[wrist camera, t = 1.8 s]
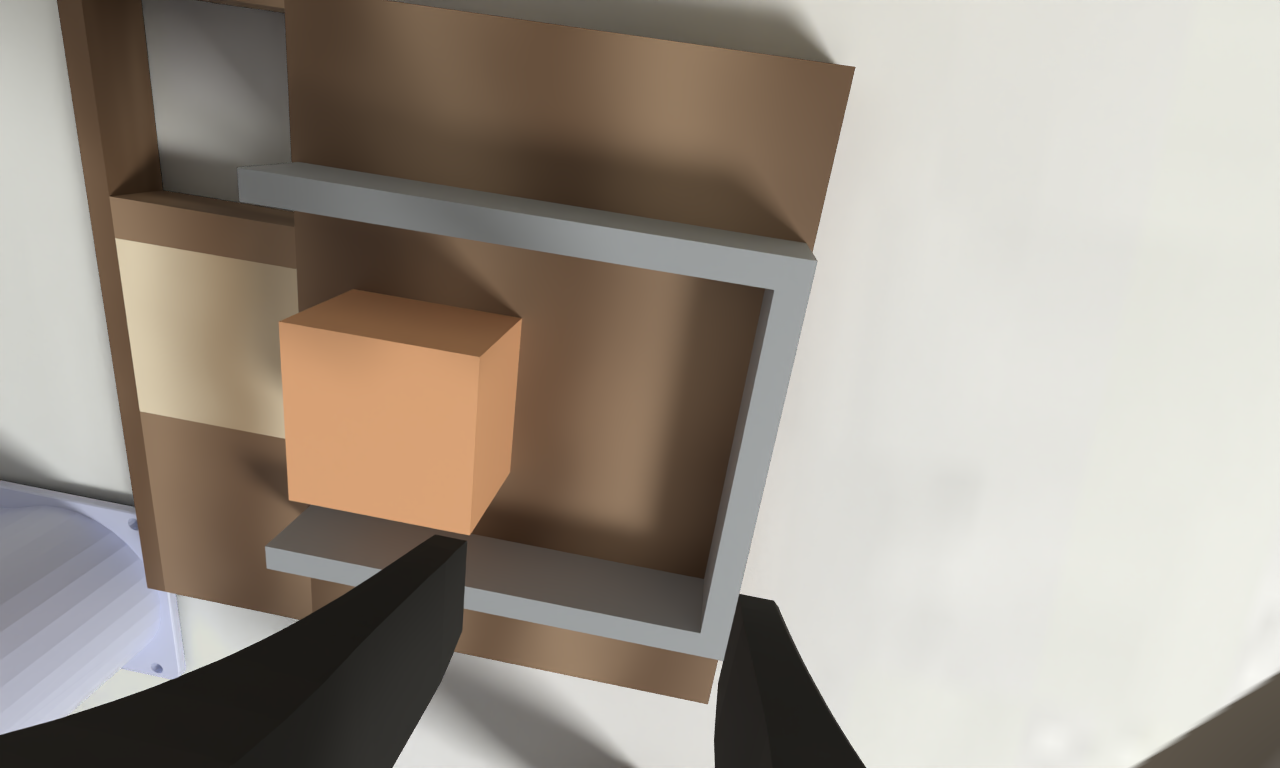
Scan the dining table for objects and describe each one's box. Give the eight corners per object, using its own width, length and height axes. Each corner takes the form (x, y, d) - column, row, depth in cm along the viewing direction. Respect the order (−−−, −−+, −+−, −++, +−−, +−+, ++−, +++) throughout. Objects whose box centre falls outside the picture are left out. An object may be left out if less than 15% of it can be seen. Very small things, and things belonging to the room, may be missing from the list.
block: (355, 443, 22) (288, 500, 18) (353, 289, 20) (278, 321, 17) (509, 472, 21) (469, 535, 18) (522, 318, 19) (479, 357, 16)
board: (188, 556, 27) (147, 588, 25) (115, -32, 19) (49, -48, 18) (709, 661, 25) (707, 704, 24) (842, 72, 18) (855, 67, 16)
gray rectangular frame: (314, 523, 23) (266, 568, 21) (298, 162, 19) (237, 167, 16) (724, 604, 22) (723, 661, 20) (806, 243, 18) (817, 261, 15)
